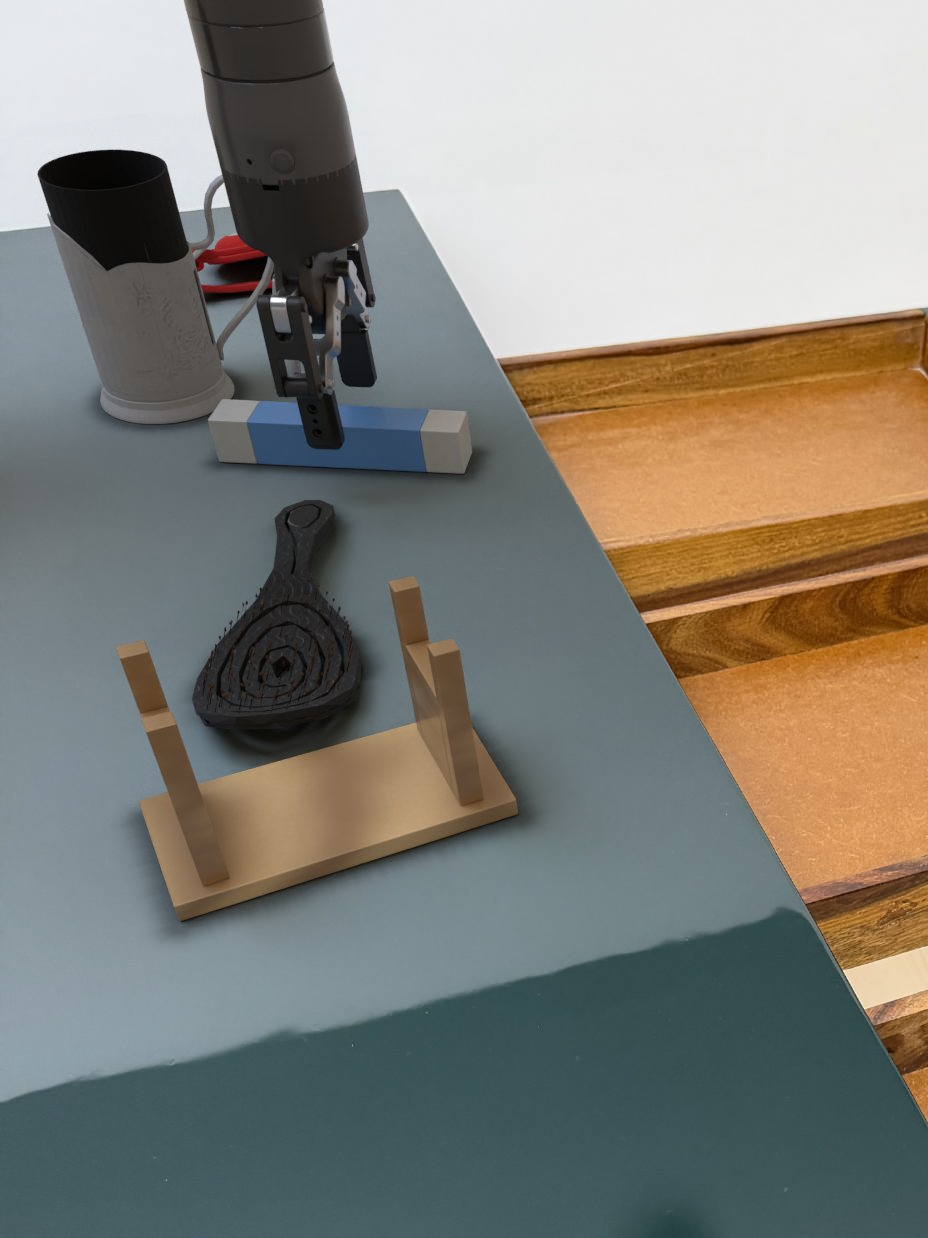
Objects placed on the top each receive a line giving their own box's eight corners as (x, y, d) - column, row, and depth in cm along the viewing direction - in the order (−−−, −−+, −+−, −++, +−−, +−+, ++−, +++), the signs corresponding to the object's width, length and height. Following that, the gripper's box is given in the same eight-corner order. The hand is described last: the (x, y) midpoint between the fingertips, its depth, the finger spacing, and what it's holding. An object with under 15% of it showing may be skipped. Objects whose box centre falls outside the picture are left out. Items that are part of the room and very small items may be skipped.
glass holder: (87, 381, 99) (12, 156, 89) (289, 343, 105) (241, 128, 95) (117, 434, 94) (42, 202, 84) (328, 391, 100) (282, 170, 90)
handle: (218, 462, 92) (206, 419, 90) (232, 440, 95) (221, 398, 92) (464, 474, 93) (458, 432, 91) (472, 452, 95) (467, 410, 93)
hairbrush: (374, 467, 88) (339, 695, 69) (385, 521, 90) (353, 755, 71) (234, 472, 86) (159, 707, 68) (248, 527, 89) (180, 768, 70)
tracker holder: (225, 231, 117) (335, 212, 115) (245, 287, 119) (352, 269, 117) (144, 250, 107) (263, 229, 105) (166, 311, 109) (283, 291, 107)
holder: (179, 922, 63) (112, 751, 56) (143, 815, 68) (77, 646, 61) (518, 814, 70) (495, 649, 63) (464, 723, 74) (436, 561, 68)
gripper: (257, 109, 86) (315, 364, 97) (178, 192, 75) (253, 467, 87) (382, 114, 86) (425, 368, 97) (319, 198, 76) (376, 471, 87)
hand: (344, 415), depth 92 cm, fingers open, 8 cm apart
